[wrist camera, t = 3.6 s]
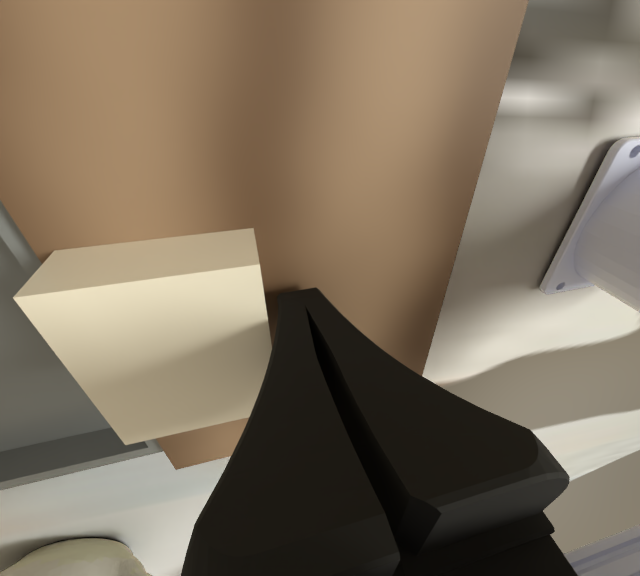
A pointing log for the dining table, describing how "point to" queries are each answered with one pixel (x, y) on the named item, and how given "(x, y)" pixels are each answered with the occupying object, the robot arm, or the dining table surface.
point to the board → (260, 143)
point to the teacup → (79, 560)
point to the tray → (43, 390)
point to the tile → (158, 328)
